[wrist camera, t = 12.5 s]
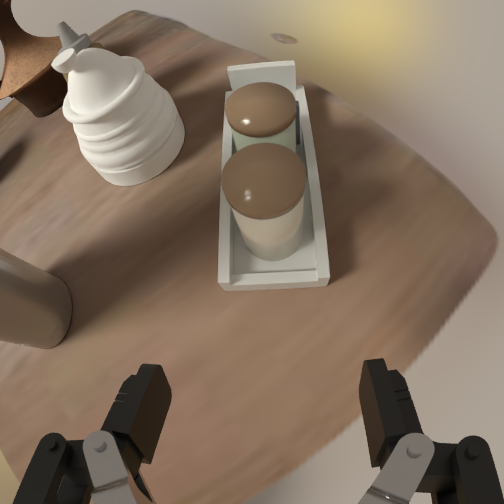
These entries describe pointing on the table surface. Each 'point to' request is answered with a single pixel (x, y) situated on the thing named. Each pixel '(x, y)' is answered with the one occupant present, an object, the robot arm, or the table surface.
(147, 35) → the table surface
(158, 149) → the honey pot
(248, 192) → the cream jar
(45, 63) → the pitcher
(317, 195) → the jar lane
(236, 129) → the sage jar
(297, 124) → the pusher
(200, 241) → the table surface
